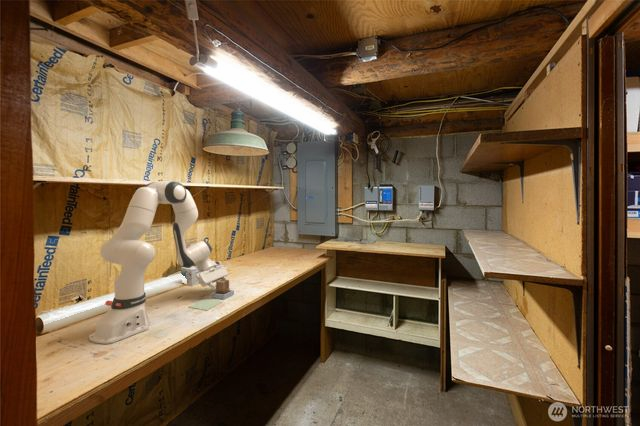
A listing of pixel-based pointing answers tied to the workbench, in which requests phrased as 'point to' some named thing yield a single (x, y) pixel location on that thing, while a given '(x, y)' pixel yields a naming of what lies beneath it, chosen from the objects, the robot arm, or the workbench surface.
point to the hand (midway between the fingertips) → (221, 286)
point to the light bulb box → (190, 275)
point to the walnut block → (222, 286)
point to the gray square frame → (221, 296)
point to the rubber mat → (205, 304)
